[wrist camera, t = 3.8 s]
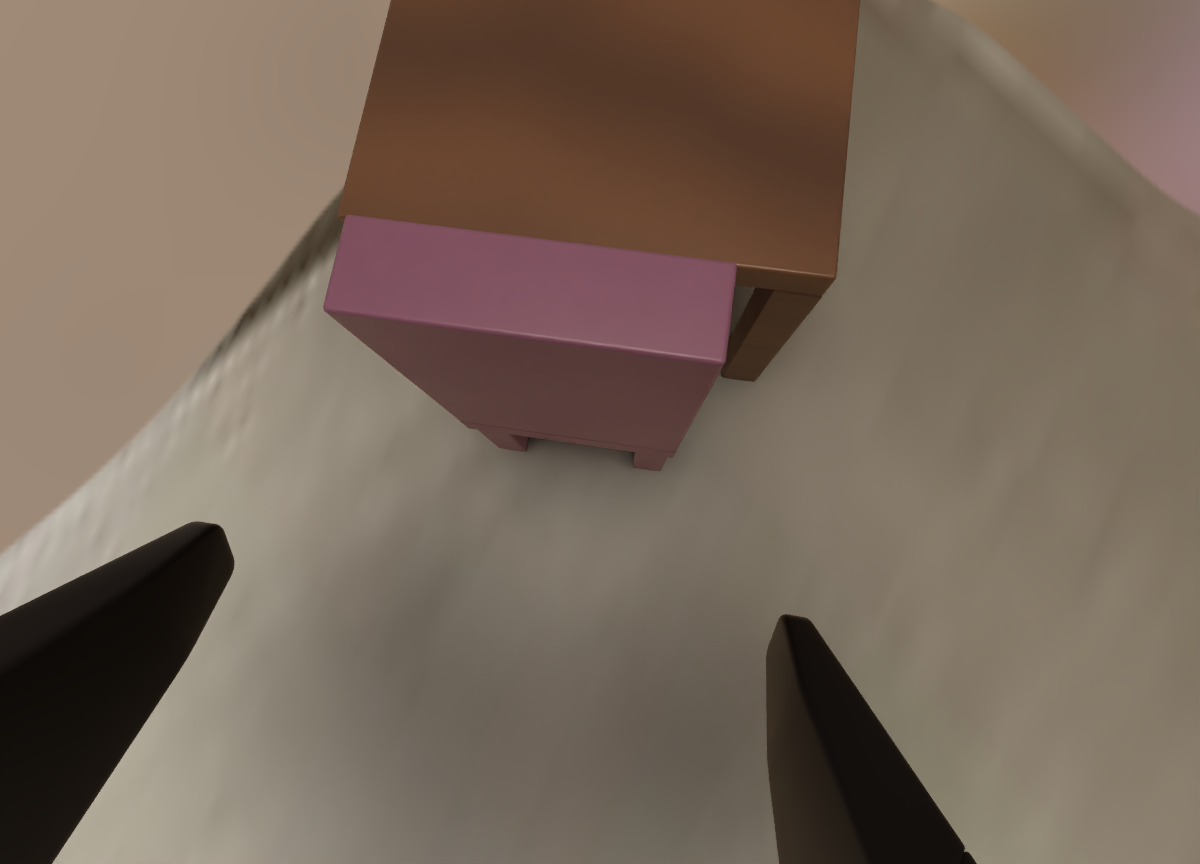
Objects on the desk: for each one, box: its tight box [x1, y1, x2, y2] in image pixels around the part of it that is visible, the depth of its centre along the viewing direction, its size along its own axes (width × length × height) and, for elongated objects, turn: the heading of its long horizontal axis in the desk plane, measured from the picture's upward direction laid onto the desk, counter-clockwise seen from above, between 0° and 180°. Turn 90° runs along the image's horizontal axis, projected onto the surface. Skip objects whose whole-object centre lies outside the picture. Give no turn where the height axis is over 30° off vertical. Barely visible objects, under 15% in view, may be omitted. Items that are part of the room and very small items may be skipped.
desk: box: [338, 0, 860, 381], centre depth 19 cm, size 8×12×8 cm, turn 81°
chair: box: [323, 215, 737, 471], centre depth 16 cm, size 6×6×13 cm
